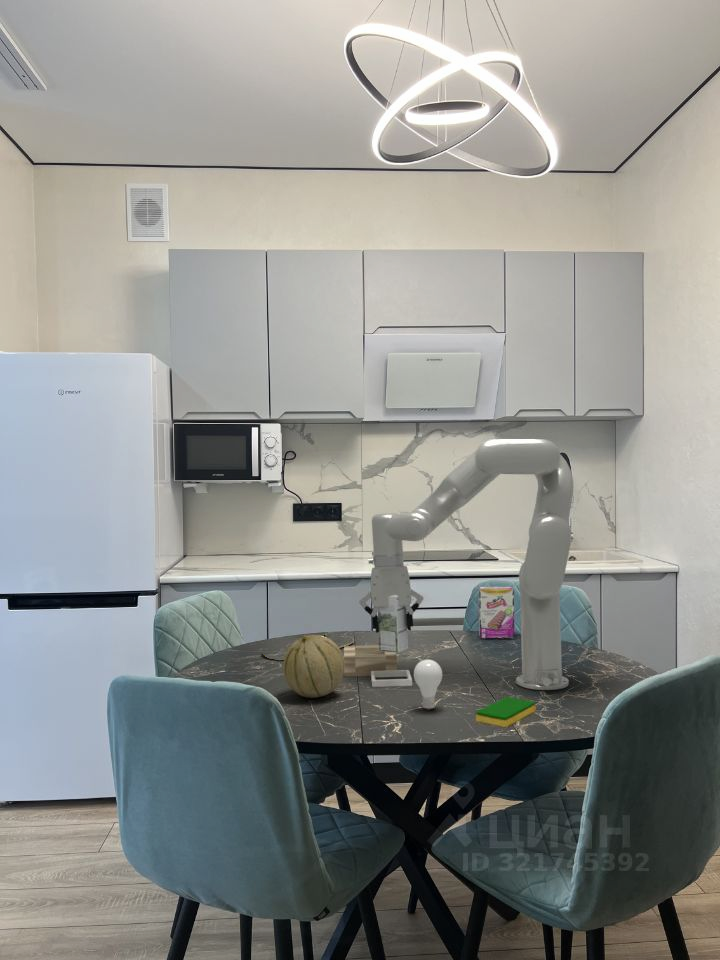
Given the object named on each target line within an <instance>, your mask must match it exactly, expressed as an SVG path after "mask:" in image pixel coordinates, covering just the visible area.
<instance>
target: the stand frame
mask: <svg viewBox="0 0 720 960" xmlns="http://www.w3.org/2000/svg"><path fill="white" fill-rule="evenodd" d="M393 677H395V679H376V678H393ZM397 677H398V678H397ZM399 677H403V678H399ZM404 677H406V678H404ZM370 679H371V686H372V688H376V687H378V688H379V687H385V688H386V687H413V677H412V675H411V673H410V670H409V669H397V670H387V671H371V676H370Z"/></svg>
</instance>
